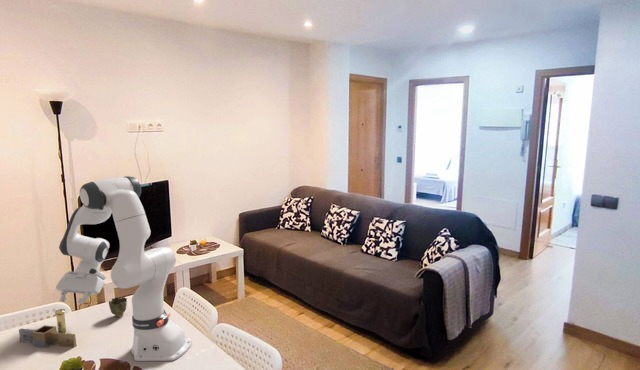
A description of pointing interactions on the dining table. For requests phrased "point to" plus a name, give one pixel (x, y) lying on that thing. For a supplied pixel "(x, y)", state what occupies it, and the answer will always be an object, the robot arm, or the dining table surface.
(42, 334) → the hinge
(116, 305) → the cup
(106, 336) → the dining table surface
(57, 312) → the hinge pin
